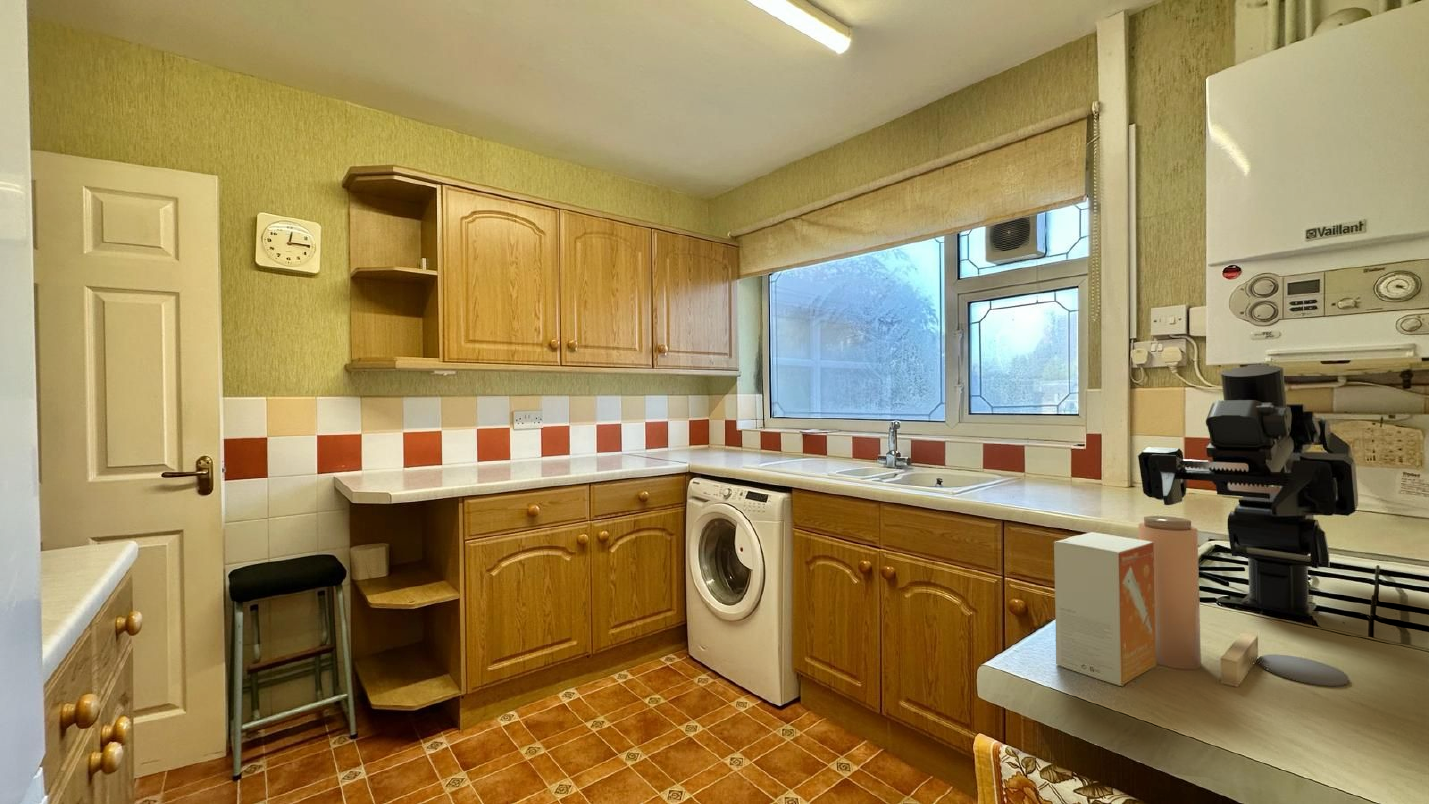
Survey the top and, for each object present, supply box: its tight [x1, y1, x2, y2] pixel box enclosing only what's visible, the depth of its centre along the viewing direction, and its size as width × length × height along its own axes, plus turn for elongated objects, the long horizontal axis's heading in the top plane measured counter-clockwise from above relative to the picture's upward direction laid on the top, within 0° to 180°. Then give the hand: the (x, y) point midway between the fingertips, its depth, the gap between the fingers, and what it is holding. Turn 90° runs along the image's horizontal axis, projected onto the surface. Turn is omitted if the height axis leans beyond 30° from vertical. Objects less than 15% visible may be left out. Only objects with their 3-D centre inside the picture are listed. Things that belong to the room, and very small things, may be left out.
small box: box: [1053, 531, 1157, 687], centre depth 62 cm, size 8×6×13 cm
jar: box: [1137, 515, 1202, 670], centre depth 63 cm, size 5×5×15 cm
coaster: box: [1257, 654, 1349, 687], centre depth 60 cm, size 6×6×1 cm
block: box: [1220, 631, 1259, 688], centre depth 60 cm, size 10×1×2 cm, turn 129°
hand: (1216, 505), depth 64 cm, fingers open, 9 cm apart
